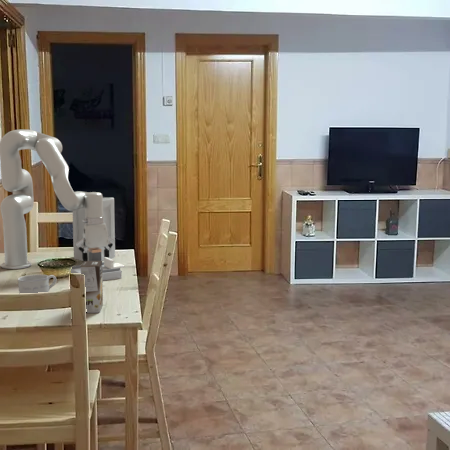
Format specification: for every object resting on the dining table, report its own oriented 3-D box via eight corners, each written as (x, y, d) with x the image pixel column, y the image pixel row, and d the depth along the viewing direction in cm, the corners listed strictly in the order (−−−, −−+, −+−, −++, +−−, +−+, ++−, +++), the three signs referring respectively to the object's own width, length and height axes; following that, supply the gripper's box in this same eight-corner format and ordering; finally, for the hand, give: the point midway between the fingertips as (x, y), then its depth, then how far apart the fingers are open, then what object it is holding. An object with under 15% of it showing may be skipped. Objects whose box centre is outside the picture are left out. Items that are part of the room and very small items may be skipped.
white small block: (103, 265, 267) (103, 257, 266) (117, 264, 270) (117, 255, 270) (110, 268, 261) (110, 260, 260) (124, 267, 264) (124, 258, 264)
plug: (89, 269, 274) (88, 248, 273) (98, 268, 277) (97, 247, 275) (92, 271, 271) (92, 250, 270) (101, 269, 273) (101, 249, 272)
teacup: (21, 303, 221) (20, 281, 220) (16, 296, 231) (15, 274, 229) (61, 299, 228) (60, 277, 226) (54, 292, 237) (53, 271, 236)
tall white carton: (73, 263, 286) (71, 202, 281) (74, 256, 300) (72, 198, 295) (116, 261, 290) (115, 201, 285) (114, 255, 304) (113, 197, 299)
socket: (69, 275, 263) (69, 265, 263) (105, 270, 272) (105, 261, 272) (84, 283, 250) (84, 273, 250) (121, 278, 259) (121, 268, 259)
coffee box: (100, 313, 212) (99, 266, 209) (81, 313, 211) (79, 266, 208) (103, 305, 221) (102, 260, 218) (84, 305, 220) (83, 260, 217)
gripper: (78, 224, 263) (80, 264, 265) (116, 220, 272) (118, 259, 275) (72, 221, 269) (73, 261, 271) (109, 218, 278) (111, 256, 281)
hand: (96, 260), depth 273 cm, fingers open, 9 cm apart
